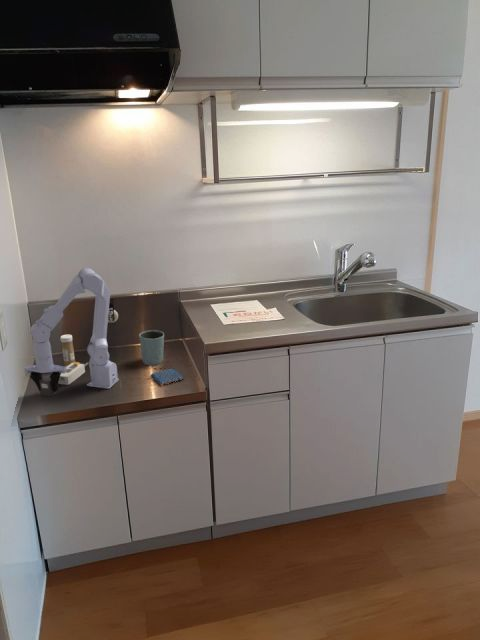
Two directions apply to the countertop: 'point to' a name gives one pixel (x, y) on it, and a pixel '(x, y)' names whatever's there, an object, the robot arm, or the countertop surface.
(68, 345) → the sprinkles bottle
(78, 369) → the power strip
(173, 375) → the woven mat
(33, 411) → the countertop surface
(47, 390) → the charger
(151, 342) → the teal cup
